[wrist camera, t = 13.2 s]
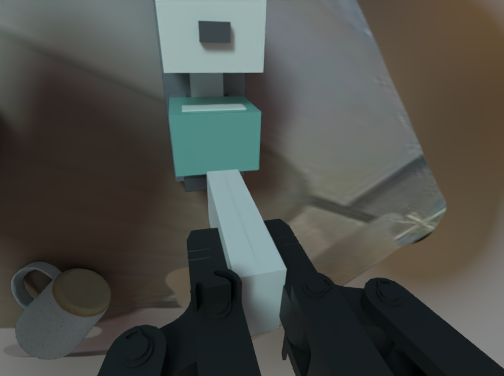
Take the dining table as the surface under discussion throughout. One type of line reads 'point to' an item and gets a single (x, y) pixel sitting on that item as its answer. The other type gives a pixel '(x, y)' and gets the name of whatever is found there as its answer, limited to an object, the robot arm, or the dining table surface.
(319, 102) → the dining table surface
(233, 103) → the block
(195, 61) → the board
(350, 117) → the dining table surface
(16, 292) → the ceramic mug
